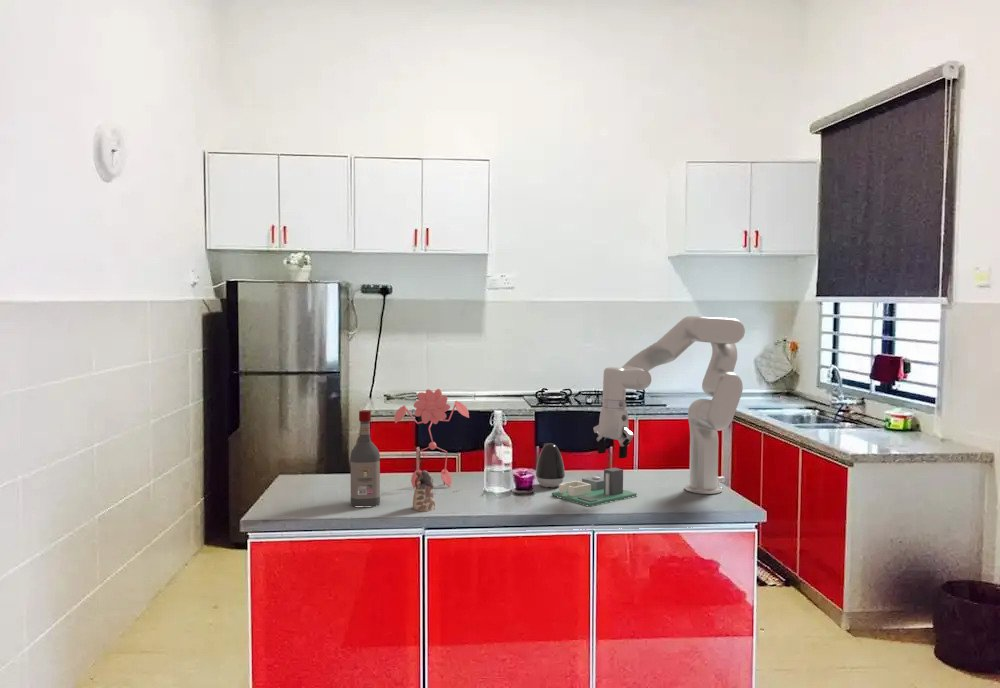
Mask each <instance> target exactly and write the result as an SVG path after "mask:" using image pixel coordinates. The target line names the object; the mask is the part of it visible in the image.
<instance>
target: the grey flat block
mask: <svg viewBox="0 0 1000 688" xmlns="http://www.w3.org/2000/svg"><path fill="white" fill-rule="evenodd" d="M581 482H584V483H588V484H591V489H594V490H600V489H604V476H603V477H602V476H599V475H594V476H589V477H582V478H581Z"/></svg>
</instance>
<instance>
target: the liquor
mask: <svg viewBox="0 0 1000 688" xmlns="http://www.w3.org/2000/svg"><path fill="white" fill-rule="evenodd" d="M371 412H372V411H371V410H368V409H367V410H359V411H358V421H359V423H360V426H359V430H360V431H359V432H360V433H359V435H360V436H359V441H357V443H356V445H355V446H354V447H353V448H352V449H351V452H350V458H349V459H350V460H349V461H350V505H351V506H352V505H353V506H375V507H377V506H376V505H378V506H379V505H380V503H381V479H380V478H381V476H380V475H381V470H380V469H381V468H380V467H381V465H380V464H381V462H380V461H381V460H380V459H381V455H380V450H379V449H378V447H377V446H376V445H375V444H374V442H372V440H371V431H370V430H371V428H370V427H371V426H370V425H371V424H370V423H371V420H372V419H371V418H372V416H371V415H372V413H371Z"/></svg>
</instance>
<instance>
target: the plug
mask: <svg viewBox="0 0 1000 688" xmlns="http://www.w3.org/2000/svg"><path fill="white" fill-rule="evenodd" d="M603 477H604V493H605V494H607V495H617V494H622V493H623V490H624V469H621V468H618V467H610V468H605V469H604V470H603Z"/></svg>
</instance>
